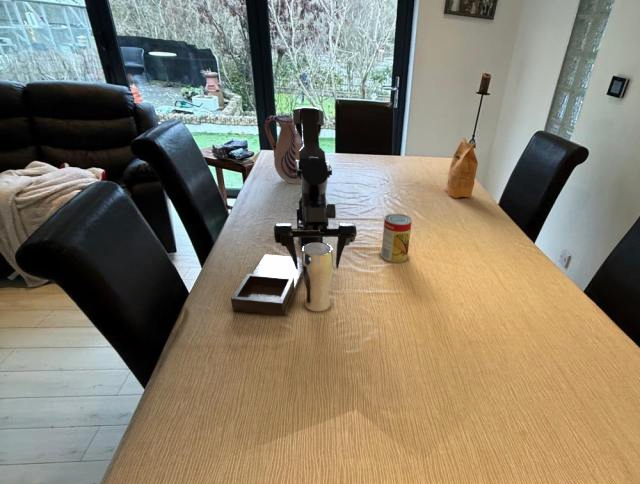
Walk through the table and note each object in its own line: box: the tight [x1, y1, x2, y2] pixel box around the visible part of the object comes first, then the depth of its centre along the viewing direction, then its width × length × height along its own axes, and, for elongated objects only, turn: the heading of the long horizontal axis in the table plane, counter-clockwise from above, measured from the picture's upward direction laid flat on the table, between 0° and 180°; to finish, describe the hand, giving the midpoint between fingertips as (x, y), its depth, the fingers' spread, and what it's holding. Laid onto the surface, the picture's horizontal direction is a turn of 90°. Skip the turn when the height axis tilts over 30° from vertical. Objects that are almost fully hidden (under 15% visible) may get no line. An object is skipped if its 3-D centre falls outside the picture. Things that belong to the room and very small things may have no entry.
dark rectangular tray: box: [230, 254, 303, 316], centre depth 104 cm, size 27×12×4 cm, turn 178°
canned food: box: [380, 213, 413, 263], centre depth 121 cm, size 8×8×12 cm
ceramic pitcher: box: [264, 114, 302, 185], centre depth 169 cm, size 18×21×25 cm
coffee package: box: [445, 137, 479, 199], centre depth 173 cm, size 10×12×22 cm
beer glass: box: [301, 242, 334, 312], centre depth 96 cm, size 7×7×15 cm
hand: (317, 268), depth 96 cm, fingers open, 9 cm apart
